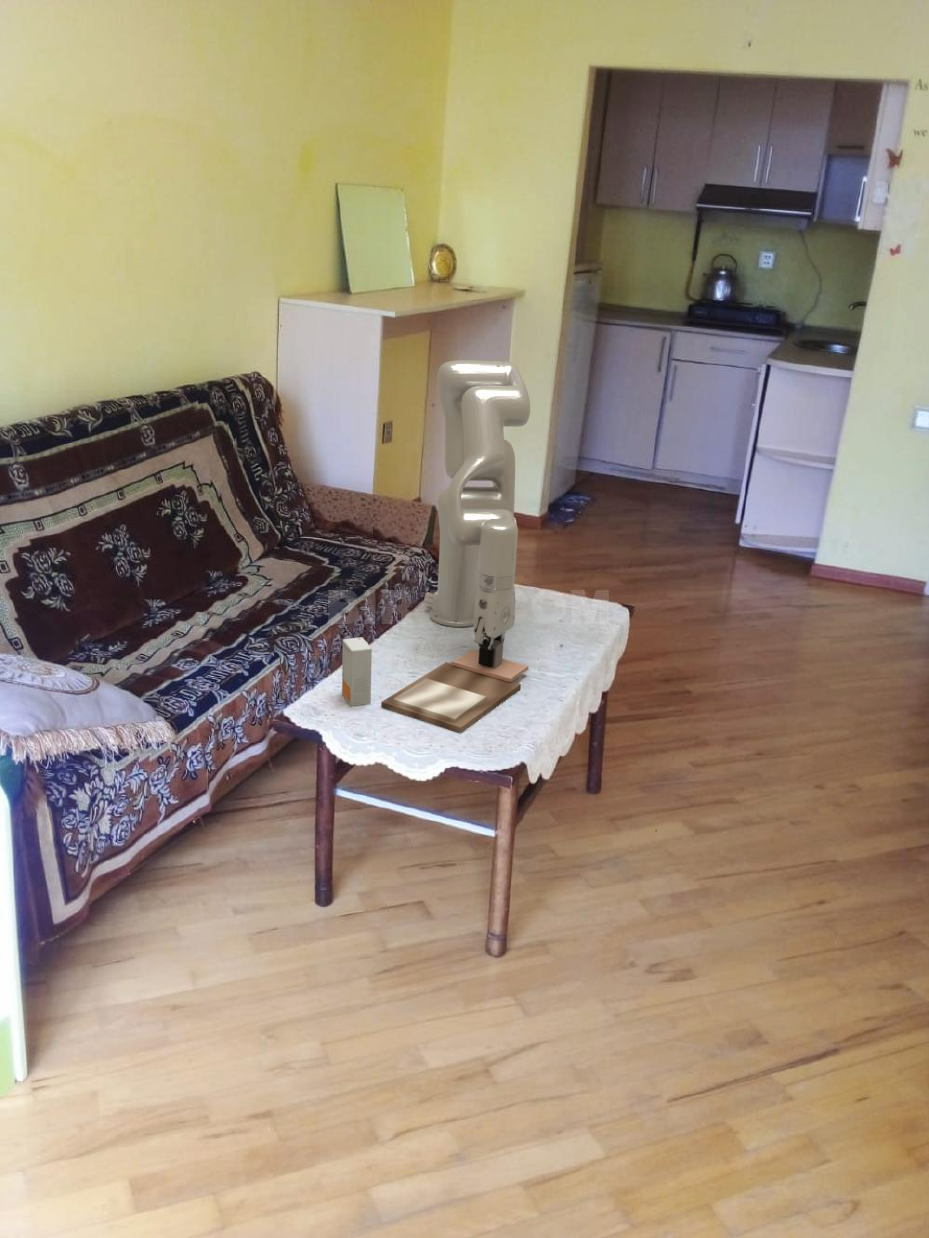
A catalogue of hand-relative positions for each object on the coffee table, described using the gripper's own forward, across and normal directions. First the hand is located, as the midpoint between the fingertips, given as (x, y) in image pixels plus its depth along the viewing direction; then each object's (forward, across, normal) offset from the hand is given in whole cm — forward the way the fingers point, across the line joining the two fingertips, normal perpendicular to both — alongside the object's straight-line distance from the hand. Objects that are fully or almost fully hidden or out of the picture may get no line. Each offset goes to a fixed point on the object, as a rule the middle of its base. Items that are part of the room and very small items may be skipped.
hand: (490, 661), depth 231 cm
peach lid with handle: (+1, 0, 0) cm, 1 cm away
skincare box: (+3, -27, +15) cm, 31 cm away
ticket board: (+3, -15, 0) cm, 15 cm away
